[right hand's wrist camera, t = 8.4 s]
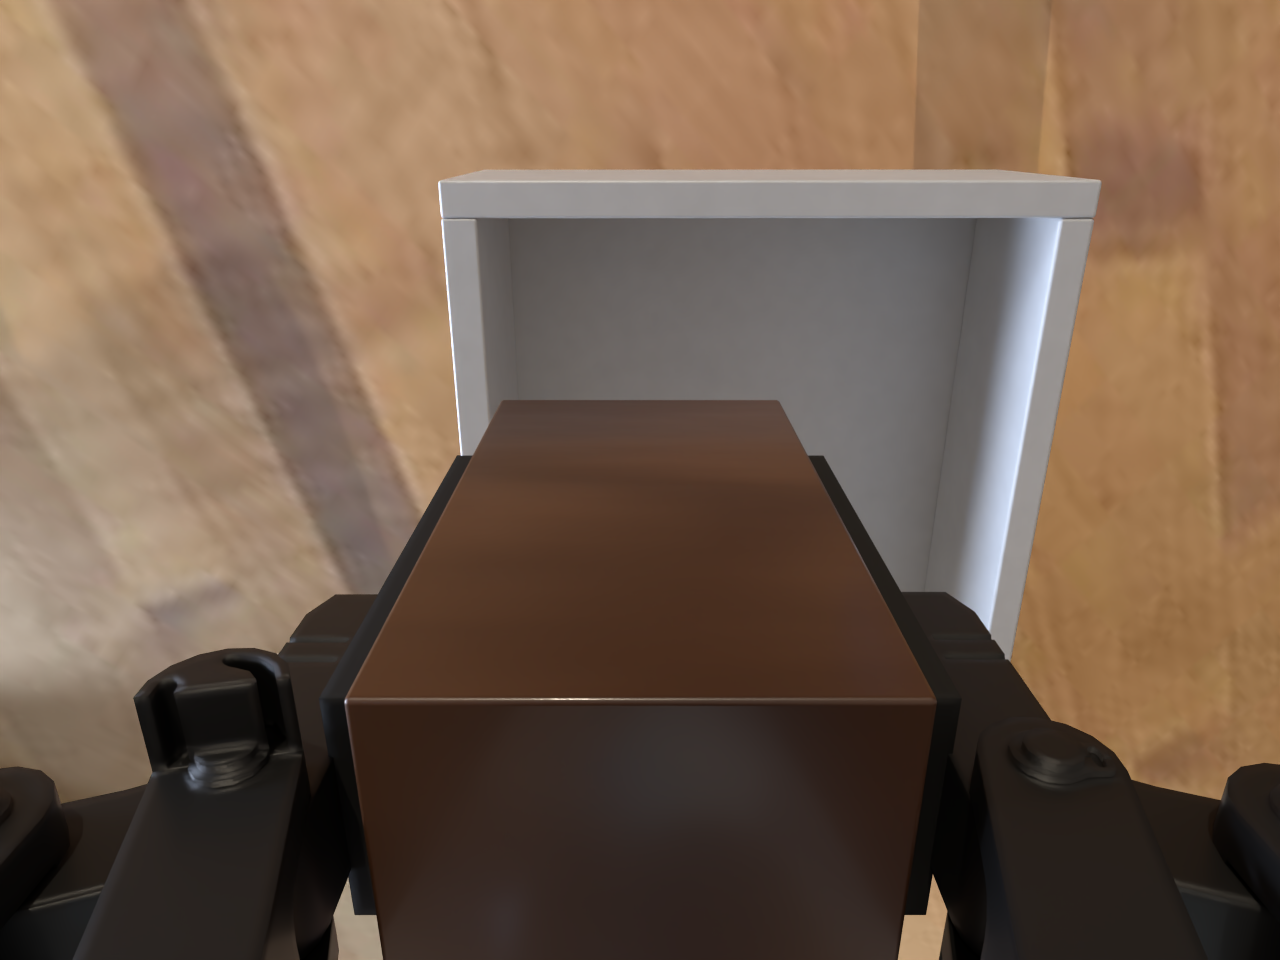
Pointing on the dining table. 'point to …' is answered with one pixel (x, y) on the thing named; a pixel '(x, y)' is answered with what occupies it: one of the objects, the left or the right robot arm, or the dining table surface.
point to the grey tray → (800, 329)
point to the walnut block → (640, 703)
